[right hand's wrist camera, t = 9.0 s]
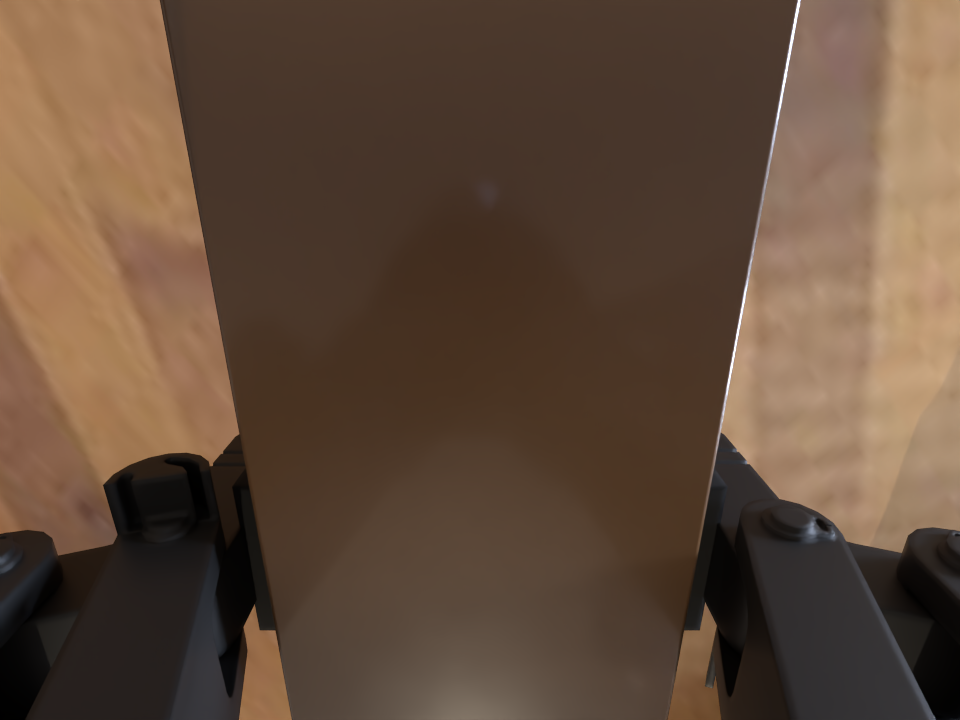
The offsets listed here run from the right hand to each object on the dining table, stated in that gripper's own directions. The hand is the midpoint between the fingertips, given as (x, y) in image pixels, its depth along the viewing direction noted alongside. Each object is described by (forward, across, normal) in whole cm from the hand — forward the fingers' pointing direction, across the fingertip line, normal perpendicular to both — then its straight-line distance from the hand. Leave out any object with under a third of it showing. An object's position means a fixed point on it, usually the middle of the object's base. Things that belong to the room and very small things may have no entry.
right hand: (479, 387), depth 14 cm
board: (0, 0, -22) cm, 23 cm away
